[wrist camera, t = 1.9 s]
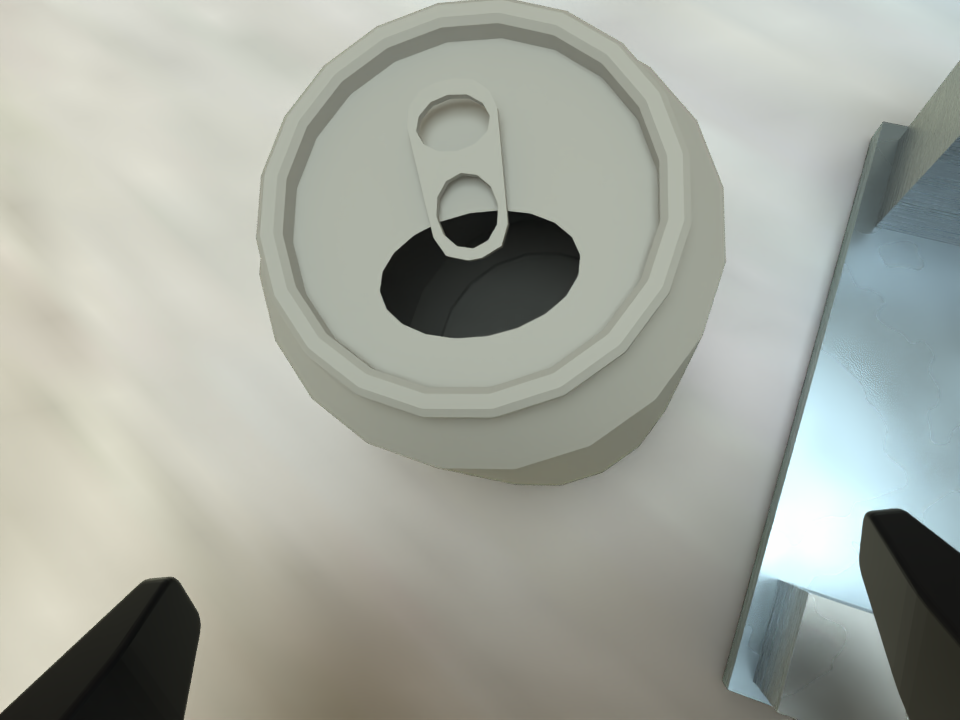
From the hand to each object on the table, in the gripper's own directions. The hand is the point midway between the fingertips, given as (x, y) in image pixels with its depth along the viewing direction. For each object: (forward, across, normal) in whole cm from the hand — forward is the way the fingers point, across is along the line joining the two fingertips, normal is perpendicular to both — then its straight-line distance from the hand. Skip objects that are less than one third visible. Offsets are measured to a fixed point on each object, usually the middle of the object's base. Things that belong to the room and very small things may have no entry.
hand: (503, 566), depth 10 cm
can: (+12, 0, +5) cm, 13 cm away
